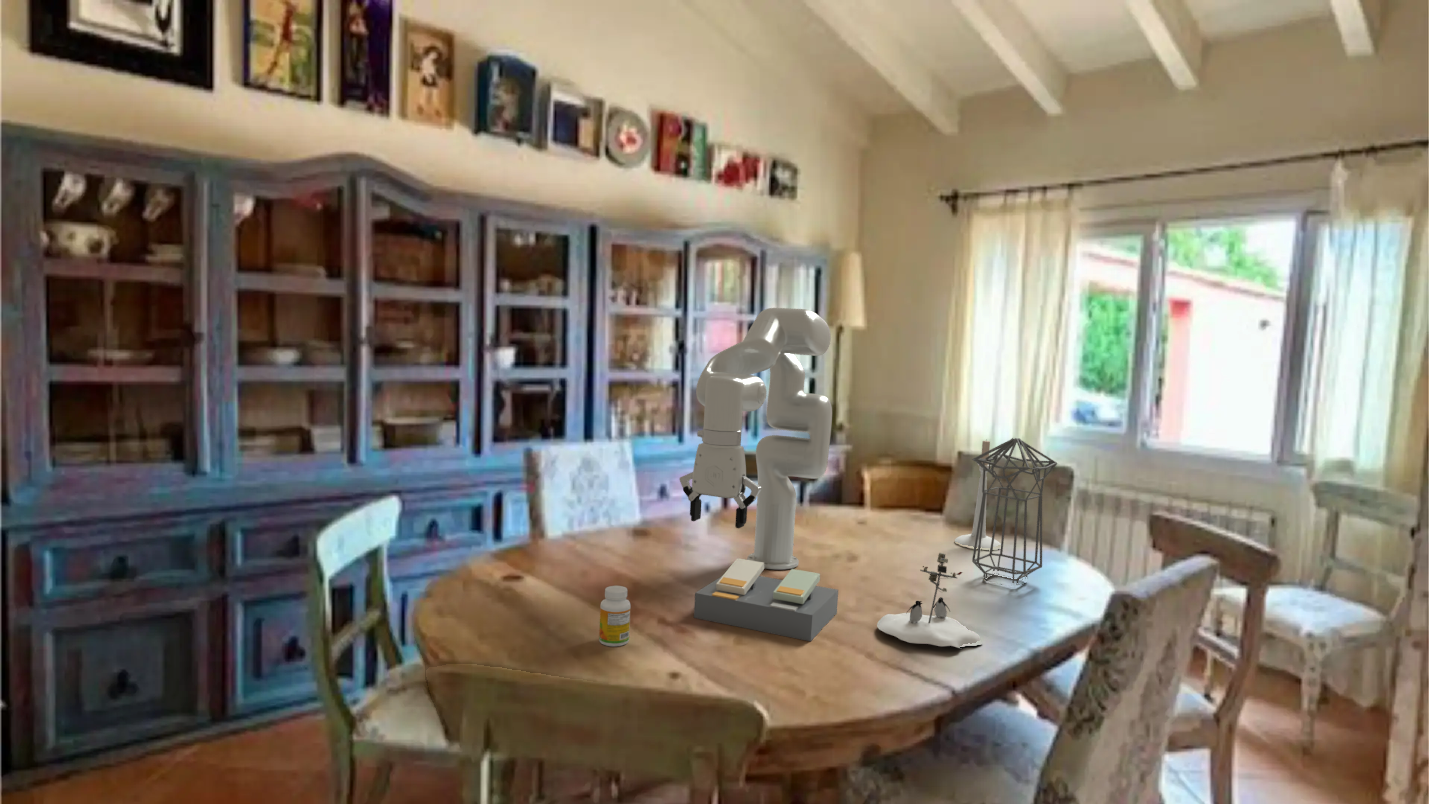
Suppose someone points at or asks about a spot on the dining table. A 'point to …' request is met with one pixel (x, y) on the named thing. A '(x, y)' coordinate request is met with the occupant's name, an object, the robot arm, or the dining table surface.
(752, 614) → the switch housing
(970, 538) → the candlestick
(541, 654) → the dining table surface
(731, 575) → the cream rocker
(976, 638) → the figurine
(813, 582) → the sage rocker
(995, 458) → the geometric lantern
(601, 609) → the supplement bottle
